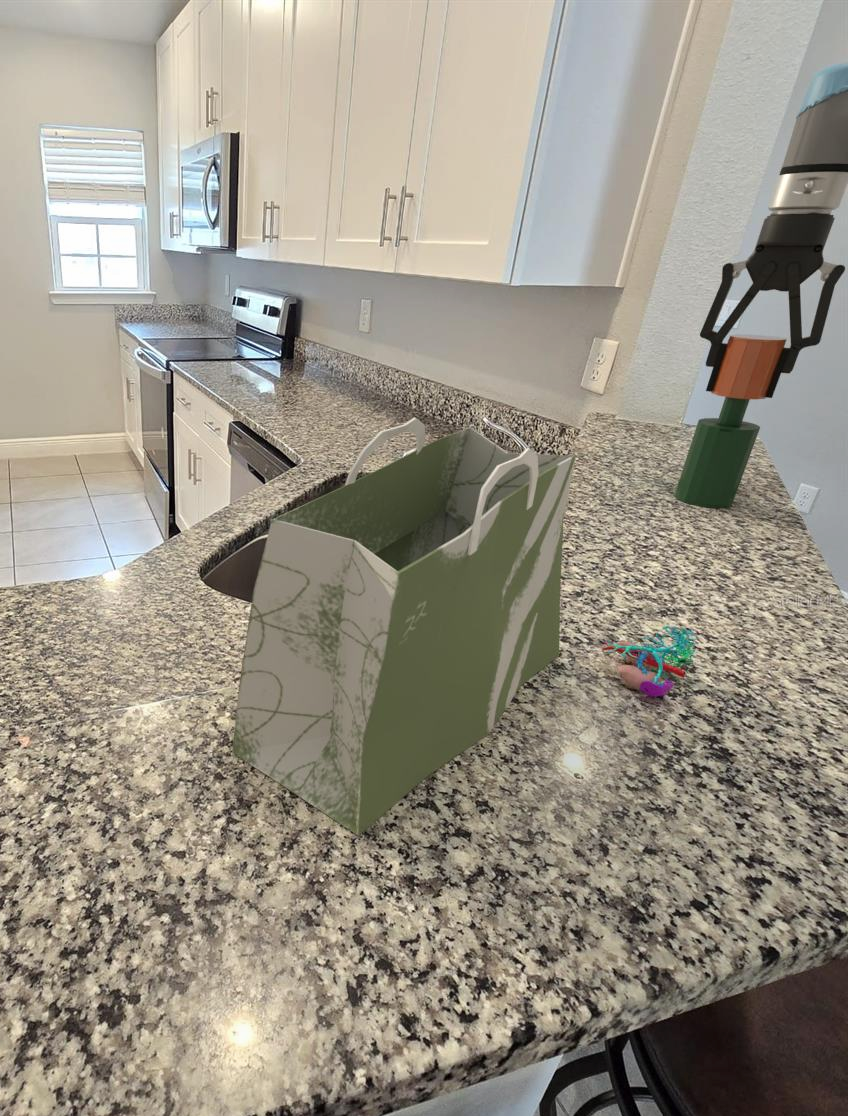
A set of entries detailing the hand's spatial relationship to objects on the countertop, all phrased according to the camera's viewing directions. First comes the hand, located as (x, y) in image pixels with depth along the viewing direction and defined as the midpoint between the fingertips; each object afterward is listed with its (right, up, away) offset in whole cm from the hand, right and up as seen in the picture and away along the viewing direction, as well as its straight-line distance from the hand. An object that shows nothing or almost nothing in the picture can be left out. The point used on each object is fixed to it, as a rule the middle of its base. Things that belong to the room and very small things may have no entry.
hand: (738, 392), depth 98 cm
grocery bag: (-58, -39, -40) cm, 81 cm away
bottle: (0, -15, +8) cm, 17 cm away
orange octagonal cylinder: (0, 0, 0) cm, 0 cm away
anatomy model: (-37, -38, -37) cm, 64 cm away
